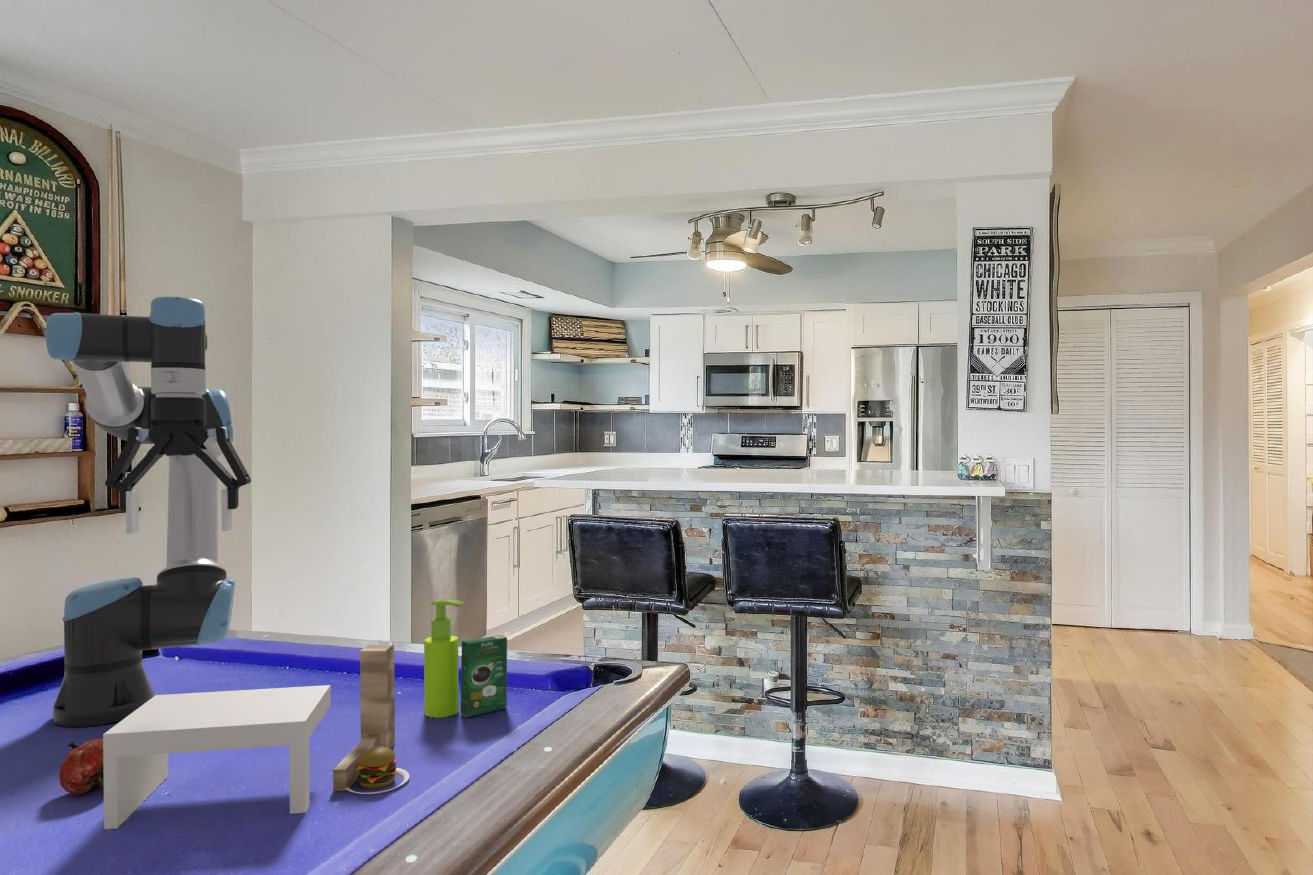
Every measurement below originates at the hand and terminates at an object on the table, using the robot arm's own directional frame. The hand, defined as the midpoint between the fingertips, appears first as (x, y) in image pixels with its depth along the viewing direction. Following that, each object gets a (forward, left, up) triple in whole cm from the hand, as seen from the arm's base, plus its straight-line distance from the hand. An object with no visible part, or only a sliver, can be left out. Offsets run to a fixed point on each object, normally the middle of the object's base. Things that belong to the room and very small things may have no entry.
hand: (180, 531), depth 131 cm
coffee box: (-9, +47, -35) cm, 59 cm away
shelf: (+19, +13, -34) cm, 41 cm away
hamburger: (+19, +32, -35) cm, 51 cm away
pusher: (+12, +29, -34) cm, 47 cm away
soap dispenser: (-10, +40, -35) cm, 53 cm away
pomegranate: (+14, -6, -35) cm, 38 cm away
